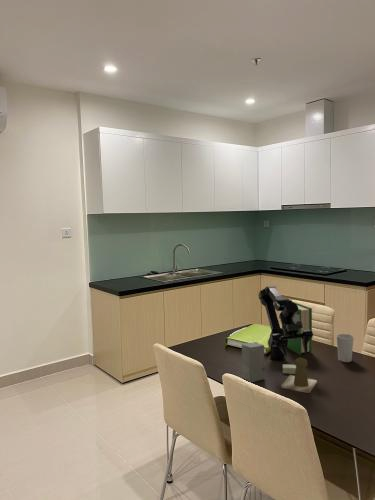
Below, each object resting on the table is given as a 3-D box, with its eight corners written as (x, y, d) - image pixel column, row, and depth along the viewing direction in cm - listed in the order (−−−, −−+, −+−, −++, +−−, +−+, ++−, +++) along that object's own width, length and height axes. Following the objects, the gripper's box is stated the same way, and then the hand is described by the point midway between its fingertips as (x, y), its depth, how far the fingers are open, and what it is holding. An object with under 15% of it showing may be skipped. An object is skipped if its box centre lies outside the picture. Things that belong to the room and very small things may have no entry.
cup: (355, 362, 194) (355, 338, 193) (337, 362, 196) (337, 338, 195) (351, 357, 202) (351, 334, 201) (335, 356, 204) (335, 333, 203)
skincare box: (250, 383, 174) (250, 348, 173) (241, 377, 181) (240, 343, 179) (265, 379, 178) (265, 344, 177) (256, 373, 184) (255, 340, 183)
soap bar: (282, 373, 184) (282, 367, 184) (282, 370, 188) (282, 364, 188) (296, 374, 183) (296, 368, 183) (295, 371, 187) (295, 364, 187)
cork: (294, 380, 174) (294, 355, 173) (308, 381, 172) (308, 357, 171) (293, 385, 168) (292, 360, 167) (307, 387, 166) (307, 362, 165)
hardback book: (311, 352, 210) (311, 308, 208) (299, 354, 208) (299, 309, 205) (293, 343, 227) (293, 301, 224) (282, 344, 224) (281, 302, 222)
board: (281, 387, 169) (281, 385, 169) (290, 377, 179) (290, 375, 179) (309, 393, 163) (309, 391, 163) (317, 382, 173) (317, 380, 173)
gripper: (270, 317, 180) (278, 350, 171) (310, 313, 180) (321, 345, 171) (267, 328, 189) (274, 359, 180) (305, 323, 189) (315, 355, 180)
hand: (296, 354), depth 177 cm, fingers open, 9 cm apart
